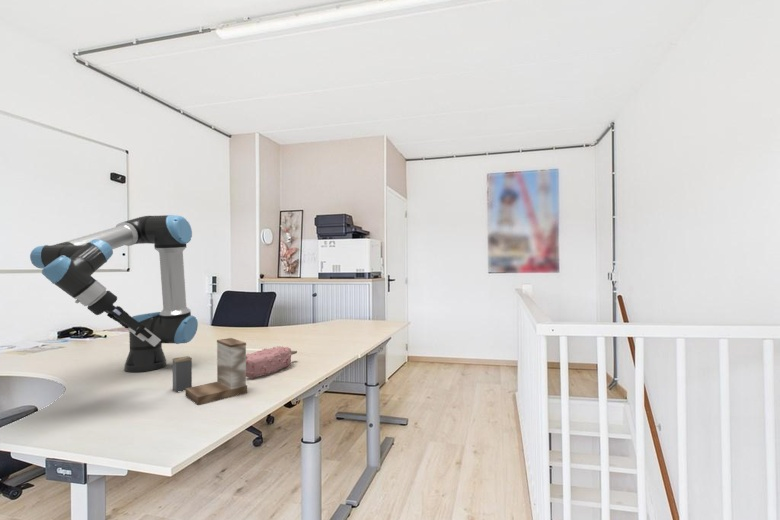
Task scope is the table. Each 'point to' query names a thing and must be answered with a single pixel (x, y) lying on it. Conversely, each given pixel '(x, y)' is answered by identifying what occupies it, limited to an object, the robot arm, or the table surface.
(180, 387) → the case
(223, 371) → the stand
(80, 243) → the robot arm
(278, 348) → the ice cream bar
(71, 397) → the table surface
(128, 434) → the table surface
